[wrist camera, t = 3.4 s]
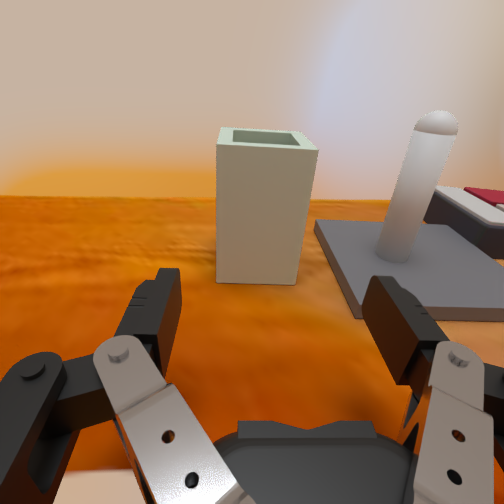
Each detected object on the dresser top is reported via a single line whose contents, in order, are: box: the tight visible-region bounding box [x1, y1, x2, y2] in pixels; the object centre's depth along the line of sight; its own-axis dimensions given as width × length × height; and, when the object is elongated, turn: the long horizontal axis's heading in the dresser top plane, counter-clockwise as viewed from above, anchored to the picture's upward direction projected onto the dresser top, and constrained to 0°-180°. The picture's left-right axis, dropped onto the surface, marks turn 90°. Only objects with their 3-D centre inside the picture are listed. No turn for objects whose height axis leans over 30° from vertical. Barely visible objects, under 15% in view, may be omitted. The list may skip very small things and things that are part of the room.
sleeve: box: [216, 127, 319, 285], centre depth 23 cm, size 6×6×10 cm
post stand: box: [314, 110, 504, 321], centre depth 23 cm, size 14×13×12 cm
